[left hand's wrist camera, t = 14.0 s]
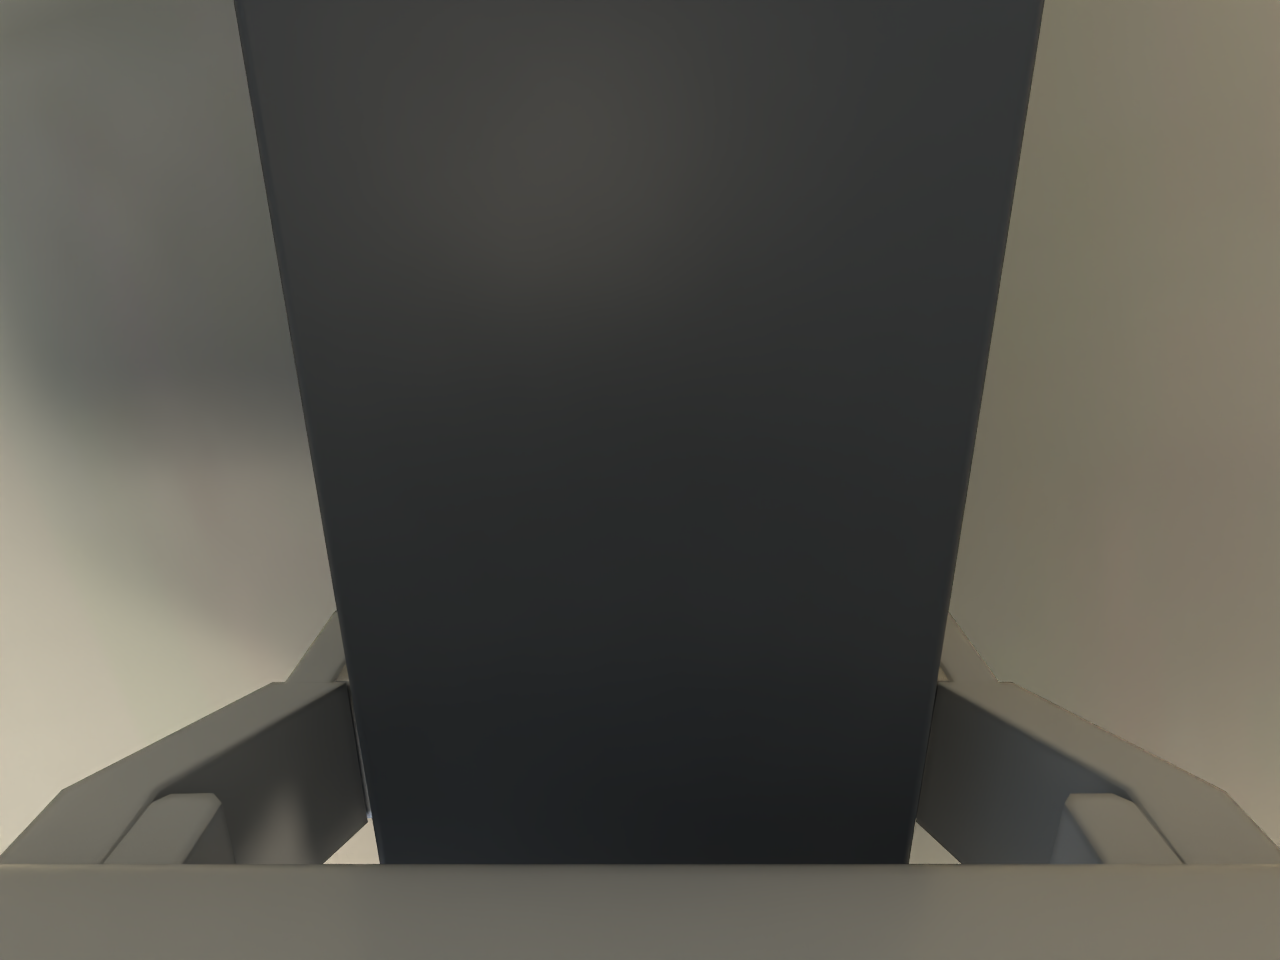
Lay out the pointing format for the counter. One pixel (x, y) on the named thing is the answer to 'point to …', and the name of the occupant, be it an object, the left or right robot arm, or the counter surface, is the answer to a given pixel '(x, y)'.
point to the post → (641, 401)
